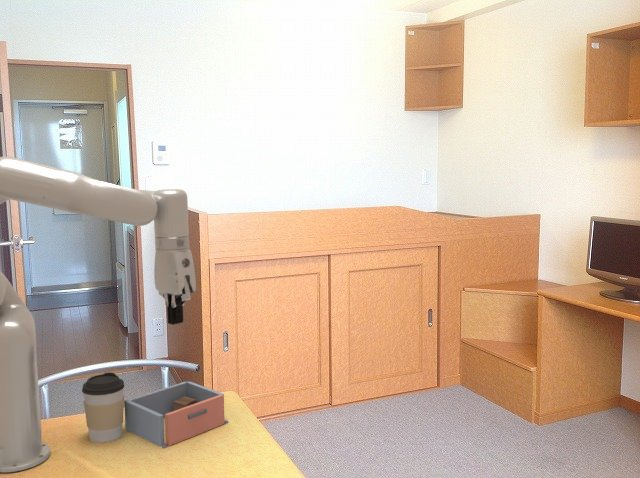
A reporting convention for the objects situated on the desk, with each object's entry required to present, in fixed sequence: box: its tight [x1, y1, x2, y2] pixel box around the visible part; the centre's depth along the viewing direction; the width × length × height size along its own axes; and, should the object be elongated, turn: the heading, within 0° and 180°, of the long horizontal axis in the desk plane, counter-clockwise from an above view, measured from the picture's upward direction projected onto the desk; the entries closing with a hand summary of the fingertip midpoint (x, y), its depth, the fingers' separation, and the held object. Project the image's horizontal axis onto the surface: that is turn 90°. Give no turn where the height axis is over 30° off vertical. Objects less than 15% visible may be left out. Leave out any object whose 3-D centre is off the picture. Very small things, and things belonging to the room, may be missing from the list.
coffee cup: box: [81, 371, 125, 444], centre depth 144 cm, size 9×9×15 cm
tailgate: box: [164, 394, 225, 447], centre depth 144 cm, size 16×1×7 cm, turn 138°
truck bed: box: [124, 380, 229, 449], centre depth 149 cm, size 18×15×8 cm
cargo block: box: [173, 396, 197, 411], centre depth 156 cm, size 4×4×4 cm
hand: (175, 322), depth 146 cm, fingers closed
